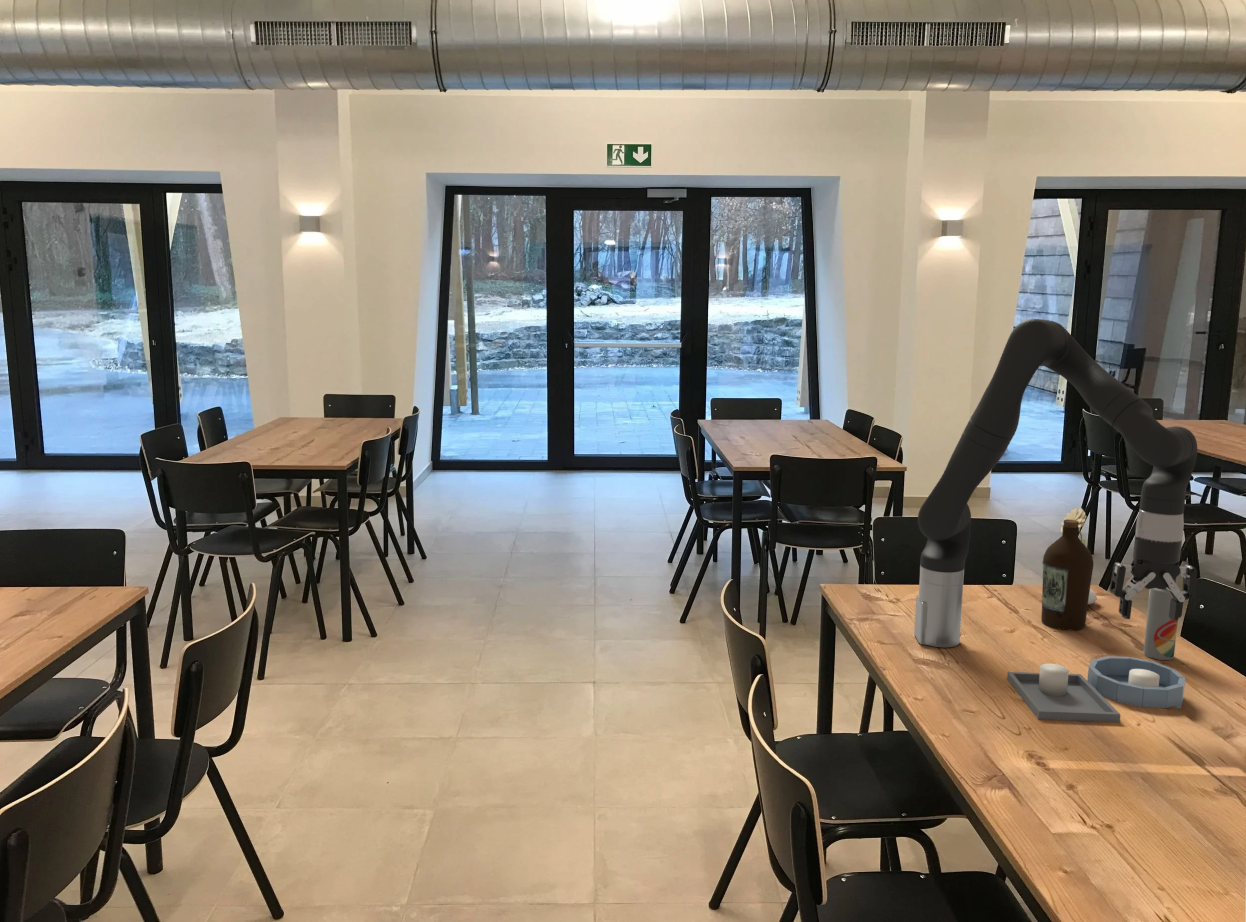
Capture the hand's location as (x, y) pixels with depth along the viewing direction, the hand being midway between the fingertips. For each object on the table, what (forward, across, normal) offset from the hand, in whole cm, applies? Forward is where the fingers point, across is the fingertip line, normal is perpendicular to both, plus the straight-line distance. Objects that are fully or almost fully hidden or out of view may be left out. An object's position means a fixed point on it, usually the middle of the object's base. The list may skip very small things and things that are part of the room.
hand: (1149, 618), depth 172 cm
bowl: (+16, 0, -3) cm, 17 cm away
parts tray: (+17, +16, +3) cm, 23 cm away
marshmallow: (+16, +16, -1) cm, 22 cm away
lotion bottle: (+17, -14, -24) cm, 33 cm away
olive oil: (+17, -1, -43) cm, 46 cm away
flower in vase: (+17, -9, -59) cm, 62 cm away
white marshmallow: (+15, 0, 0) cm, 16 cm away
